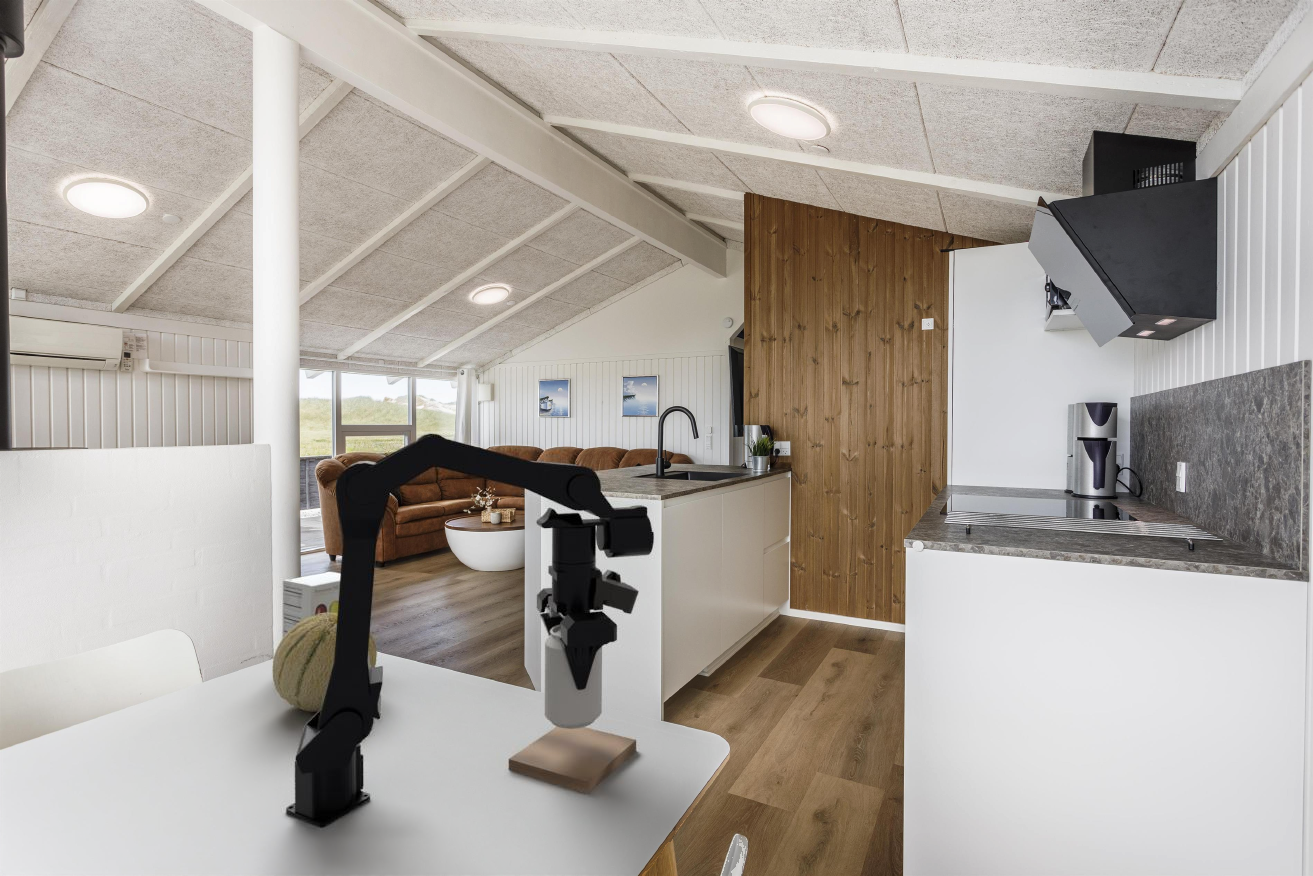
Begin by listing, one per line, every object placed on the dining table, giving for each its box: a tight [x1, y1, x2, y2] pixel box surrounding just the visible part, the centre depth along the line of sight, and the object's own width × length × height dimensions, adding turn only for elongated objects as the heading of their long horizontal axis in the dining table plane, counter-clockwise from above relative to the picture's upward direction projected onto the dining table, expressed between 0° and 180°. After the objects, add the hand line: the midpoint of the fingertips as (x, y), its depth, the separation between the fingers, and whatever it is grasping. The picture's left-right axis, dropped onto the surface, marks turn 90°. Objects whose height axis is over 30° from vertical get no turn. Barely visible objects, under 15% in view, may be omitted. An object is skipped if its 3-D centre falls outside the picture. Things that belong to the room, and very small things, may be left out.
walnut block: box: [508, 726, 637, 795], centre depth 87 cm, size 12×12×2 cm
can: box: [544, 625, 603, 729], centre depth 87 cm, size 8×8×12 cm
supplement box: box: [282, 571, 341, 638], centre depth 119 cm, size 10×9×17 cm
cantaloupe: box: [272, 612, 378, 713], centre depth 103 cm, size 15×15×15 cm
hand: (573, 678), depth 87 cm, fingers closed on can, 7 cm apart
